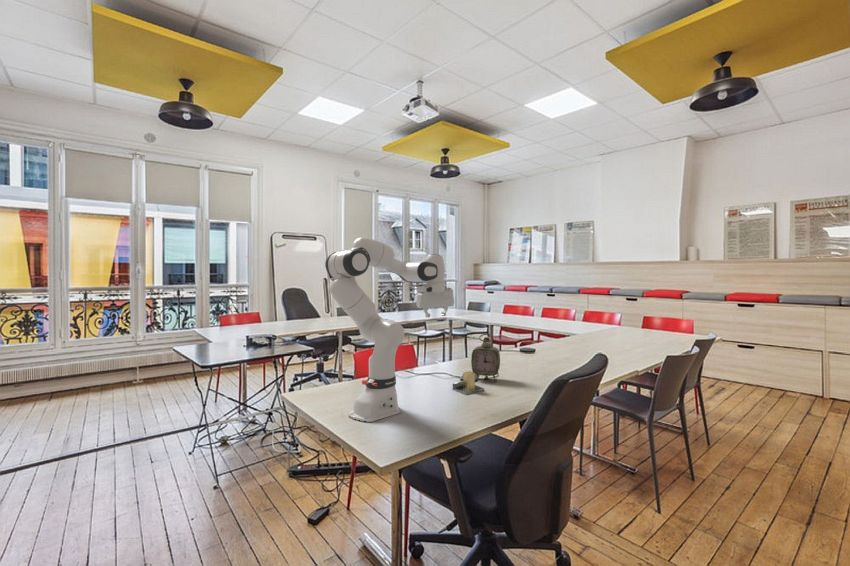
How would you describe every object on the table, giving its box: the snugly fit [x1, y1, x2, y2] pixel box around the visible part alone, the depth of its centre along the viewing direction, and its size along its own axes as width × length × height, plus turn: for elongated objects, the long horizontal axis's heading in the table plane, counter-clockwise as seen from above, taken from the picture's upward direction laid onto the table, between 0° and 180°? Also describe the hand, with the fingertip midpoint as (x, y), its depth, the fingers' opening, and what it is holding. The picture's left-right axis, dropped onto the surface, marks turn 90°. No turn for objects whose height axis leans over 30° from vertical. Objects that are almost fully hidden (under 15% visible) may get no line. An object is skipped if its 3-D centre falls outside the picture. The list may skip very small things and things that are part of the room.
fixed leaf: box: [452, 380, 485, 396], centre depth 195 cm, size 10×12×4 cm
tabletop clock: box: [470, 333, 501, 382], centre depth 213 cm, size 14×9×25 cm, turn 73°
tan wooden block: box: [462, 370, 476, 390], centre depth 194 cm, size 4×4×8 cm
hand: (435, 316), depth 191 cm, fingers open, 8 cm apart
